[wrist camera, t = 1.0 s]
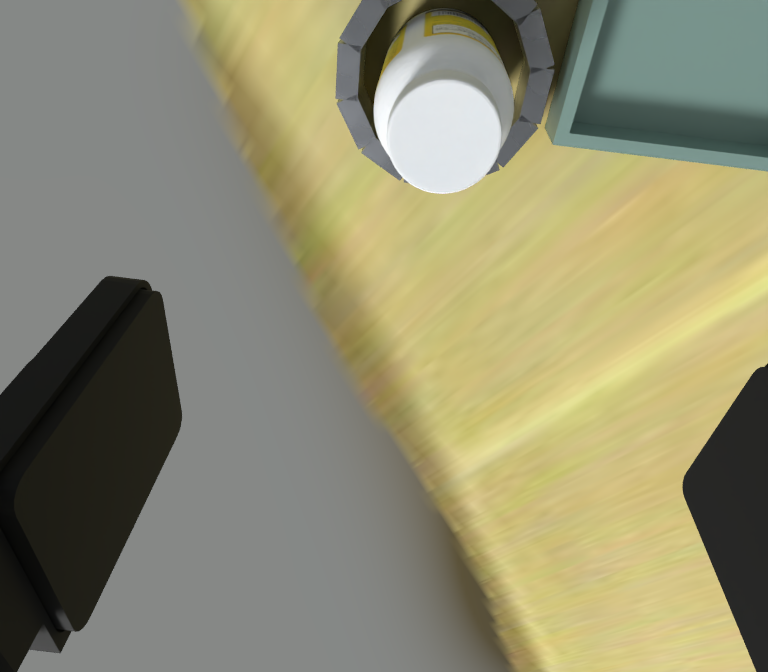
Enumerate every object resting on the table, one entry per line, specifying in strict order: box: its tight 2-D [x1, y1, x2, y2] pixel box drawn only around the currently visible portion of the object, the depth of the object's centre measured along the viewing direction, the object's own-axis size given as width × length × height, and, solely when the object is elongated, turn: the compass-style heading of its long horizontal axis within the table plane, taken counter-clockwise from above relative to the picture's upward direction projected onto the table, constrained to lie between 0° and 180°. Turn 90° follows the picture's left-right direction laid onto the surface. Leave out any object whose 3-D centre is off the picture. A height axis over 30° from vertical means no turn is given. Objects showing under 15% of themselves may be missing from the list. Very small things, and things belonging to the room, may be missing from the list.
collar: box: [336, 0, 555, 183], centre depth 26 cm, size 9×9×2 cm
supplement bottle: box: [374, 8, 514, 194], centre depth 23 cm, size 5×5×10 cm
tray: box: [545, 0, 768, 171], centre depth 24 cm, size 12×12×2 cm
